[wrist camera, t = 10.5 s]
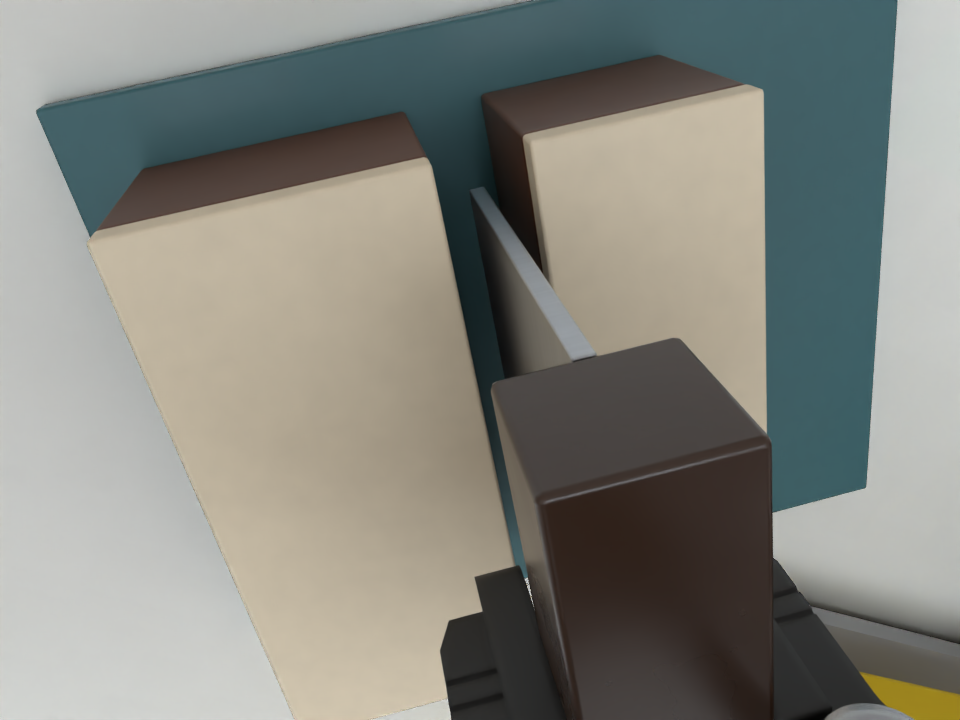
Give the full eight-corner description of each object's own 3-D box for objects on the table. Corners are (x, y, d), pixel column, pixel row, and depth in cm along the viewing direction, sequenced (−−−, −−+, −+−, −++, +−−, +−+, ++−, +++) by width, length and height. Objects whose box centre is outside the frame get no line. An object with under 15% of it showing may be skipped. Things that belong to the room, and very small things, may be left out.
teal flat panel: (42, 104, 16) (-64, 169, 12) (886, -76, 18) (1085, -80, 13) (268, 631, 24) (256, 798, 19) (855, 476, 25) (976, 598, 20)
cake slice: (479, 93, 17) (529, 141, 13) (661, 53, 17) (765, 87, 13) (554, 529, 23) (605, 656, 19) (691, 494, 23) (769, 611, 19)
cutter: (418, 200, 15) (533, 500, 7) (533, 174, 15) (777, 437, 7) (505, 594, 20) (634, 1041, 12) (592, 571, 20) (778, 996, 12)
